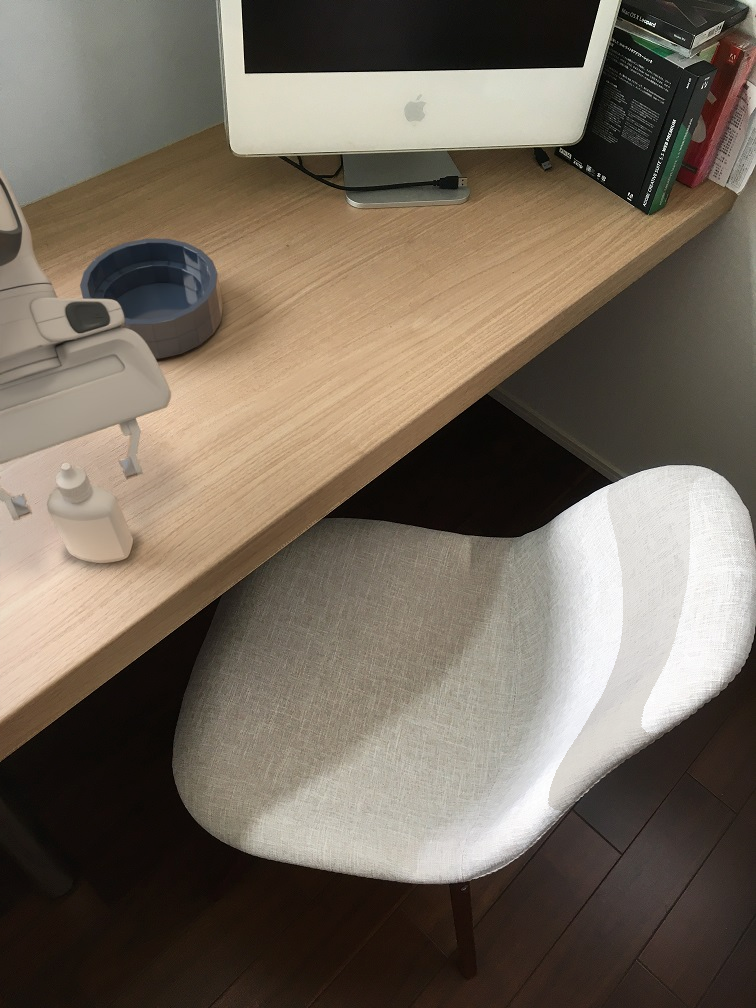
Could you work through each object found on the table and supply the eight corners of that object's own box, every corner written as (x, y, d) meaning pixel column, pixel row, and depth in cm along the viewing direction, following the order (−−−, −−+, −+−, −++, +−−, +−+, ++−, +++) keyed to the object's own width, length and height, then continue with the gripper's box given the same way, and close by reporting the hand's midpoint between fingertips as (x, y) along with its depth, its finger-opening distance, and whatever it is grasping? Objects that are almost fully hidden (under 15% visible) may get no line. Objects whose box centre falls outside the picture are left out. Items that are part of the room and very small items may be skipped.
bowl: (104, 375, 85) (91, 336, 80) (84, 291, 93) (71, 251, 88) (236, 346, 88) (231, 307, 84) (206, 267, 96) (200, 228, 92)
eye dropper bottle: (108, 579, 70) (71, 500, 60) (62, 550, 72) (19, 468, 62) (141, 545, 72) (111, 464, 62) (96, 517, 74) (60, 433, 64)
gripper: (-137, 376, 57) (-55, 549, 60) (137, 295, 63) (198, 456, 66) (-118, 380, 63) (-44, 538, 66) (131, 306, 69) (188, 453, 72)
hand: (80, 496), depth 66 cm, fingers open, 8 cm apart
